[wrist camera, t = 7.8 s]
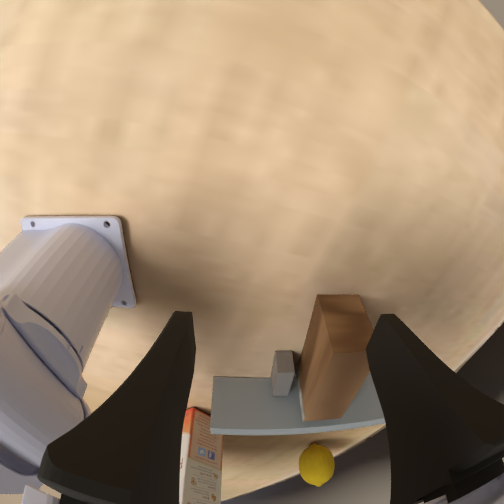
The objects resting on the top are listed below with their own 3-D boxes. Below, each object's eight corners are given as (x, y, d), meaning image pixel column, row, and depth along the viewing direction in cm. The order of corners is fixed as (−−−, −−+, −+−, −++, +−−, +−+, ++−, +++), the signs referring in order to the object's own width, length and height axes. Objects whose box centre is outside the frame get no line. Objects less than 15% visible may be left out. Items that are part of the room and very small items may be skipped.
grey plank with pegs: (214, 384, 29) (210, 433, 24) (212, 349, 26) (206, 405, 21) (388, 377, 30) (403, 419, 25) (409, 344, 27) (429, 389, 22)
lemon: (290, 448, 41) (294, 490, 34) (307, 436, 38) (312, 482, 31) (319, 449, 42) (325, 489, 35) (337, 437, 39) (344, 480, 32)
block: (295, 370, 28) (302, 421, 23) (315, 294, 23) (332, 353, 18) (330, 369, 28) (341, 418, 23) (359, 294, 23) (382, 350, 18)
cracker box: (190, 403, 32) (177, 567, 14) (225, 421, 34) (223, 569, 16) (131, 424, 36) (110, 547, 18) (162, 439, 39) (149, 554, 21)
